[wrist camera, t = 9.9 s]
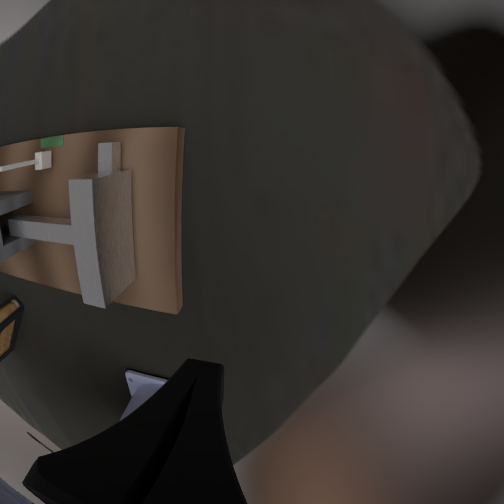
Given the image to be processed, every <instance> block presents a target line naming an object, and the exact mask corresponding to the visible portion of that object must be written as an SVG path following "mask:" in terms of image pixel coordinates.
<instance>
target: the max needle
mask: <svg viewBox="0 0 504 504" xmlns="http://www.w3.org/2000/svg"><path fill="white" fill-rule="evenodd" d="M33 164H35V170H41V169H46V168H51V151H44V152H37V153H35V160H29V161H24V162H19V163H14V164H10V165H5V166H1V167H0V172H2V171H6V170H10V169H14V168H19V167H23V166H28V165H33Z"/></svg>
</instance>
